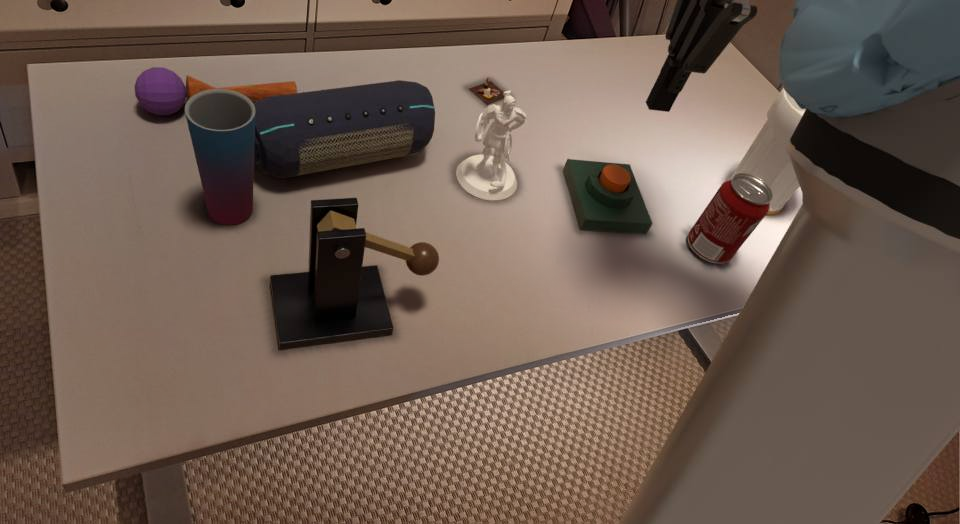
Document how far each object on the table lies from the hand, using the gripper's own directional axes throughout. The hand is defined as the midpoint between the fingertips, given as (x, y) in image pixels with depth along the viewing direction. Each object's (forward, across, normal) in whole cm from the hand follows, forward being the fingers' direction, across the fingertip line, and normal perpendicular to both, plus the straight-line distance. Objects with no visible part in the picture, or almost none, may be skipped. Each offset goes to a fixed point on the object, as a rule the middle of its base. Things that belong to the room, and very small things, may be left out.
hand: (657, 106), depth 80 cm
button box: (+18, +2, 0) cm, 18 cm away
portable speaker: (+18, +7, +37) cm, 42 cm away
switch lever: (+10, -18, +34) cm, 39 cm away
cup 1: (+19, -4, +50) cm, 53 cm away
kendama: (+18, +15, +53) cm, 58 cm away
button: (+15, +2, 0) cm, 15 cm away
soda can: (+18, -6, -14) cm, 24 cm away
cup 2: (+18, +6, -27) cm, 33 cm away
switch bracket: (+18, -18, +38) cm, 46 cm away
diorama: (+18, +25, +14) cm, 34 cm away
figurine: (+18, +5, +17) cm, 25 cm away
